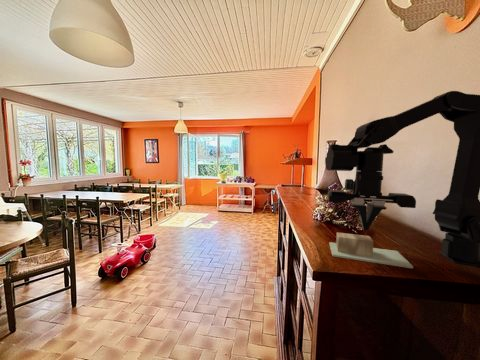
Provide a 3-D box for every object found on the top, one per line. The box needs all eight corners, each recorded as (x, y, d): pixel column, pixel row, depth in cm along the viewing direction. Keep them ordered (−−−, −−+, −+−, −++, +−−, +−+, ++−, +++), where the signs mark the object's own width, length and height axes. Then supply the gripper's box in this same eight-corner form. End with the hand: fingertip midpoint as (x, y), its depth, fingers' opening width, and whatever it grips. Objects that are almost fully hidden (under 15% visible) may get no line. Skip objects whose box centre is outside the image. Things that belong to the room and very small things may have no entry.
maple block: (369, 236, 54) (336, 232, 57) (373, 241, 51) (338, 236, 53) (368, 250, 55) (335, 245, 57) (372, 256, 51) (337, 251, 53)
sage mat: (397, 252, 54) (397, 251, 54) (413, 268, 46) (413, 266, 46) (329, 243, 60) (329, 242, 60) (332, 256, 52) (332, 254, 52)
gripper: (399, 171, 56) (395, 226, 57) (327, 170, 62) (324, 219, 63) (419, 172, 46) (414, 239, 47) (330, 170, 52) (327, 229, 53)
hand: (365, 230), depth 53 cm, fingers closed
